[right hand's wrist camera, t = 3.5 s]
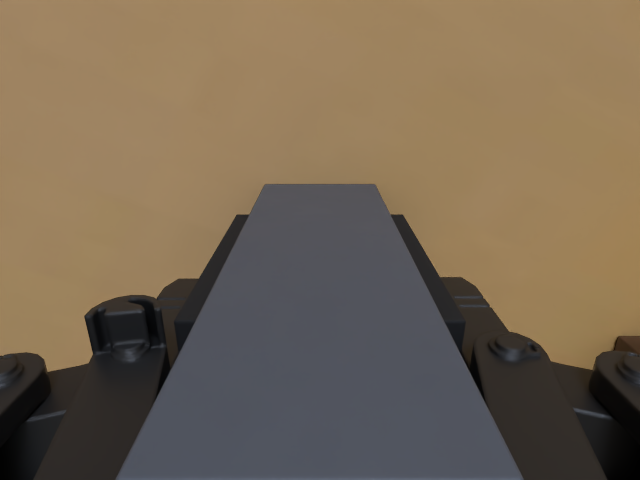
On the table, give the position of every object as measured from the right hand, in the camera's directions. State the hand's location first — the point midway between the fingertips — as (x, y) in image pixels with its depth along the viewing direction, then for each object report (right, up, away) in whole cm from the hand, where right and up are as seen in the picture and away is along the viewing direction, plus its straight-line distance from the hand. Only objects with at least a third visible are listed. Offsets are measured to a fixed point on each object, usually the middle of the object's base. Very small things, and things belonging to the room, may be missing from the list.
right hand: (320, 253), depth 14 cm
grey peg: (0, +1, +1) cm, 2 cm away
